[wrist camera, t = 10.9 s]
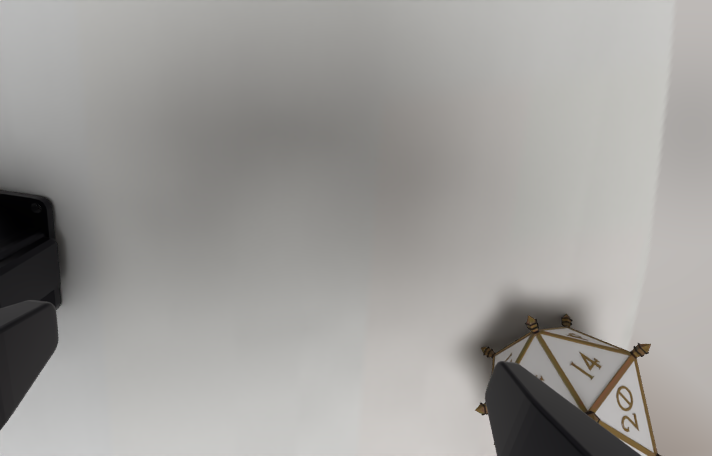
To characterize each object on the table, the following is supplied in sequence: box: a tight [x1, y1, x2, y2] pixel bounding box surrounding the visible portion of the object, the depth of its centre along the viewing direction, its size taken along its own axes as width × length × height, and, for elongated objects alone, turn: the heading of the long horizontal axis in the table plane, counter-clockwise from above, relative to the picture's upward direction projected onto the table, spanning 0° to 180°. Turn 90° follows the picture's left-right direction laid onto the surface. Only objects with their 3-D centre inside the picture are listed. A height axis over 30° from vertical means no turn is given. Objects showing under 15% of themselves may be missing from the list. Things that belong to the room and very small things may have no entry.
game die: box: [476, 314, 661, 456], centre depth 21 cm, size 9×8×10 cm
